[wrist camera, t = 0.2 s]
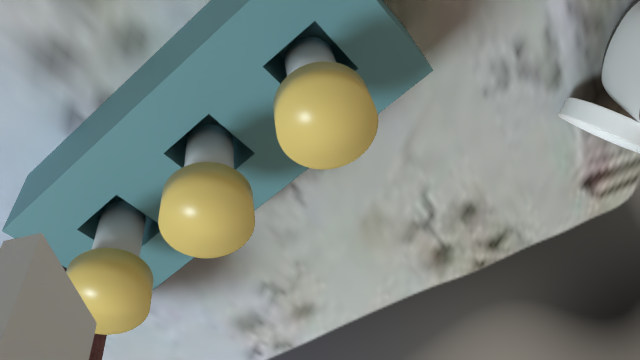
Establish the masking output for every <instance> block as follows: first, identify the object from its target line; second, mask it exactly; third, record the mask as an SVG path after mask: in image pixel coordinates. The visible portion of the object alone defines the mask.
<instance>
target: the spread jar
mask: <svg viewBox="0 0 640 360" xmlns="http://www.w3.org/2000/svg"><path fill="white" fill-rule="evenodd" d="M602 84H603V86H604V88H605V90H606V92H607V93H608V94H609V96H610V97H611V98H612V99H613V100H614V101H615V102H616V103H617V104H618V105H620V106H621V107H622V108H623V109H624V110H625V111H626V112H627V113H629V114H630V115H631V116H632V117H633V118H634V119H636V120H637V121H638V122H637V121H635V120H633V119H631V118H629V117H626V116H624V115H622V114H619V113H617V112H615V111H612V110H610V109H607V108H604V107H602V106H599V105H596V104H594V103H591V102H587V101H584V100H581V99H577V98H571V97H569V98H567V99H566V101H565V103H564V105H563V107H562V108H561V110H560V112H559V114H558V115H559V116H560V117H561V118H562V119H564V120H566V121H567V122H569V123H571V124H573V125H575V126H577V127H579V128H581V129H583V130H585V131H587V132H589V133H591V134H593V135H596V136H598V137H600V138H602V139H605V140H607V141H609V142H612V143H614V144H616V145H619V146H621V147H624V148H627V149H629V150H632V151H635V152H637V153H640V0H637V1H636V2H635V3H633V4H632V5H631V6H630V7H629V8H628V9H627V11H626V12H625V13H624V14H623V16H622V17H621V18H620V20H619V21H618V23H617V25H616V26H615V28H614V30H613V32H612V34H611V36H610V38H609V41H608V44H607V47H606V50H605V53H604V57H603V63H602Z"/></svg>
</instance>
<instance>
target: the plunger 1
mask: <svg viewBox="0 0 640 360" xmlns="http://www.w3.org/2000/svg"><path fill="white" fill-rule="evenodd" d="M145 223H146V217H145V214H144V213H143V212H141V211H140V210H138V209H137V208H135V207H134V206H132V205H131V204H129V203H128V202H114V203H111V204H109V205H107V206H106V207H105V208H104V209H103V211H102V213H101V216H100V220H99V224H98V227H97V231H96V235H95V239H94V242H93V246H92V250H89V251H86V252H83V253H82V254H80V255H78V256H77V257H75V258H74V259H73V260H72V261H71V262H70V264H69V265H68V267H67V270H66V273H67V275H68V277H69V278H70V280H71V281H72V283H73V285H74V286H75V288H76V290H77V291H78V293H79V295H80V296H81V298H82V300H83V301H84V303H85V304H86V306H87V308H88V309H89V311H90V313H91V314H92V316H93V318H94V319H95V321H96V323H97V325H96V330H95V334H103V335H111V334H119V333H123V332H127V331H129V330H132V329H134V328H136V327H137V326H139V325H140V324H141V323H142V322H143V321H144V320H145V319H146V317H147V316H148V313H149V310H150V304H151V296H152V289H153V274H152V271H151V269H150V267H149V266H148V265H147V263H146V262H145V261H144V260H142V259H141V258H140V252H141V246H142V240H143V234H144V228H145Z"/></svg>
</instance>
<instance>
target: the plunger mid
mask: <svg viewBox="0 0 640 360" xmlns="http://www.w3.org/2000/svg"><path fill="white" fill-rule="evenodd" d="M158 225H159V229H160V232H161V234H162V236H163V238H164V239H165V241H166V242H167V243H168V244H169V245H170V246H171V247H173V248H174V249H175V250H177V251H179V252H181V253H183V254H185V255H189V256H192V257H197V258H216V257H221V256H225V255H228V254H230V253H233V252H234V251H236V250H238V249H239V248H241V247H242V246H243V245H244V244H245V243H246V242H247V241H248V240H249V238H250V237H251V235H252V233H253V230H254V226H255V216H254V201H253V192H252V188H251V186H250V184H249V182H248V180H247V179H246V178H245V177H244V176H243V175H242V174H241V173H240V172H238V171H237V170H236V169H234V149H233V139H232V137H231V135H230V134H229V133H228V132H227V131H226V130H225V129H223V128H222V127H219V126H216V125H203V126H200V127H197V128H196V129H194V130H193V131H192V132H191V133H190V134H189V136H188V138H187V144H186V154H185V164H184V167H182V168H181V169H179V170H177V171H176V172H175V173H173V174H172V175H171V176H170V177H169V179H168V180H167V181H166V183H165V185H164V188H163V191H162V197H161V204H160V211H159V218H158Z"/></svg>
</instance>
